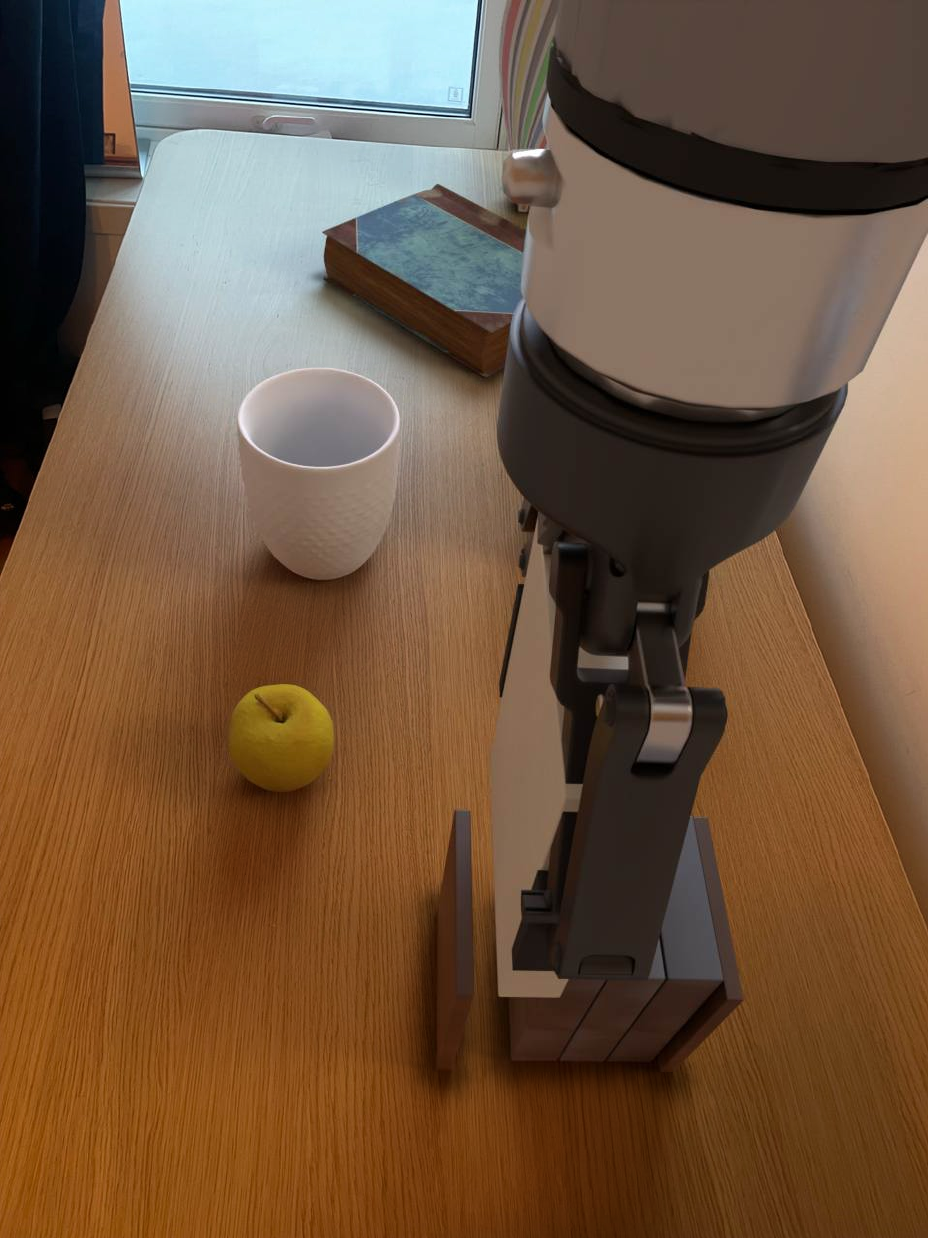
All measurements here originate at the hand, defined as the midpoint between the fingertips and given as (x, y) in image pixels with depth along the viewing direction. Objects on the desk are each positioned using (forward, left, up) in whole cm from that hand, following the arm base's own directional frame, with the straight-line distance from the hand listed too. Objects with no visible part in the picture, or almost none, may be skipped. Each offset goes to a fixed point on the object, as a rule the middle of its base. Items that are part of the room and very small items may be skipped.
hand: (538, 812), depth 37 cm
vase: (+51, -77, -21) cm, 95 cm away
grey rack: (-3, -2, -20) cm, 21 cm away
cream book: (0, 0, -5) cm, 5 cm away
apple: (+18, -2, -21) cm, 27 cm away
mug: (+30, -19, -21) cm, 41 cm away
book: (+45, -54, -21) cm, 74 cm away
